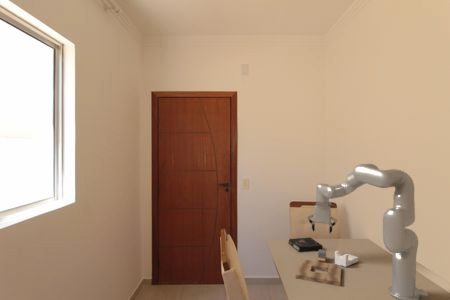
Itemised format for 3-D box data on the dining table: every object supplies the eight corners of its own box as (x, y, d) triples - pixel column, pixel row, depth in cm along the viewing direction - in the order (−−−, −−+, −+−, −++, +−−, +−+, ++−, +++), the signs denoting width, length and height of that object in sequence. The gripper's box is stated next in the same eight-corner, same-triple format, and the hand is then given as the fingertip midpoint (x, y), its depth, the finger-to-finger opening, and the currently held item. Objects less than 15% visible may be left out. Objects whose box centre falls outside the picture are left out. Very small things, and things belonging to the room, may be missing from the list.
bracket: (345, 268, 166) (345, 255, 166) (334, 264, 172) (334, 251, 172) (358, 263, 174) (358, 250, 173) (347, 259, 179) (347, 247, 179)
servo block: (326, 258, 180) (326, 249, 180) (324, 264, 171) (324, 254, 170) (319, 257, 181) (319, 248, 181) (317, 263, 172) (317, 253, 172)
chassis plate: (341, 268, 165) (341, 265, 165) (340, 286, 145) (340, 282, 145) (302, 262, 174) (302, 259, 174) (295, 278, 154) (295, 274, 154)
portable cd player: (288, 244, 206) (288, 239, 206) (310, 242, 209) (310, 237, 209) (298, 253, 190) (298, 247, 190) (322, 251, 193) (322, 245, 193)
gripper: (337, 204, 175) (337, 231, 176) (308, 201, 182) (308, 228, 183) (337, 206, 168) (336, 235, 169) (306, 204, 175) (306, 231, 176)
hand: (321, 231), depth 176 cm, fingers open, 9 cm apart
